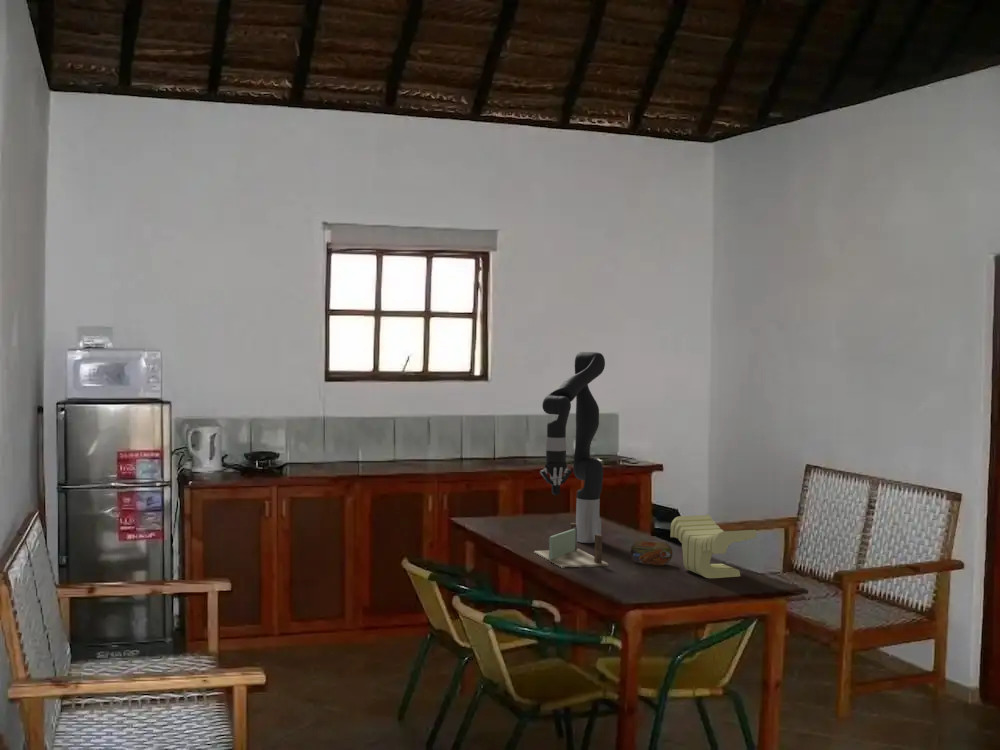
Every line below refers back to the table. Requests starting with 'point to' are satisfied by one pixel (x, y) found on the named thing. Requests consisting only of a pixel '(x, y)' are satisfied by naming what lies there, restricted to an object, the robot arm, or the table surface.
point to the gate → (563, 543)
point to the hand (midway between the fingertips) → (555, 494)
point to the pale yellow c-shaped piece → (706, 544)
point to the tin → (651, 552)
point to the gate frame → (578, 555)
